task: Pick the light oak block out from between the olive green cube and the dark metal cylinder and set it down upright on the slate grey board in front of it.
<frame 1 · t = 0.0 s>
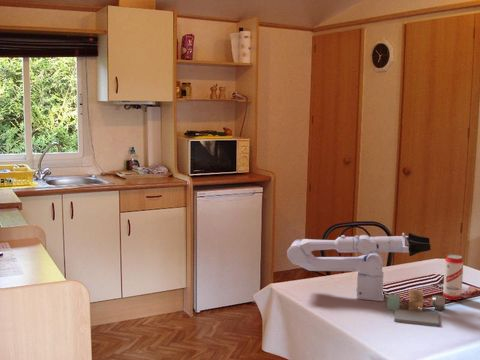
hand: (430, 243, 194), 22 cm above the table, tool horizontal, fingers open, 7 cm apart
olive green cube: (393, 307, 193), on the table
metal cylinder: (437, 308, 192), on the table
slate board: (416, 318, 183), on the table
beer can: (451, 298, 201), on the table
oak block: (415, 308, 192), on the table
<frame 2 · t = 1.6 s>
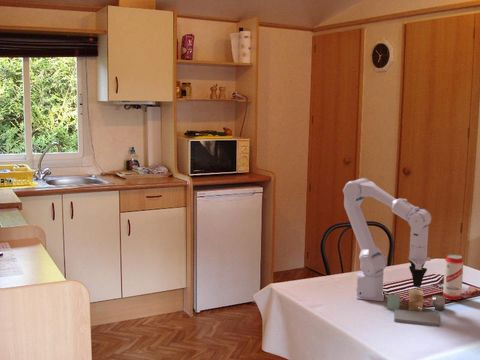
hand: (416, 282, 190), 9 cm above the table, tool pointing down, fingers open, 7 cm apart
nothing on the table moved.
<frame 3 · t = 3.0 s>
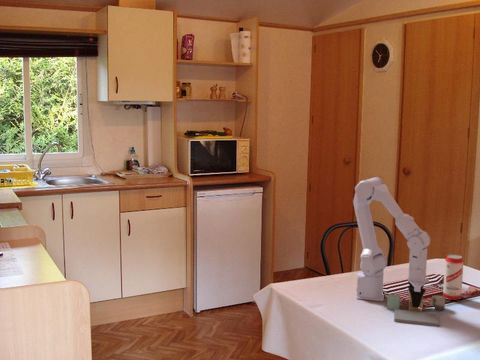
hand: (415, 304, 192), 2 cm above the table, tool pointing down, fingers closed on oak block, 4 cm apart
oak block: (415, 308, 192), on the table, touching gripper
everything else where it was.
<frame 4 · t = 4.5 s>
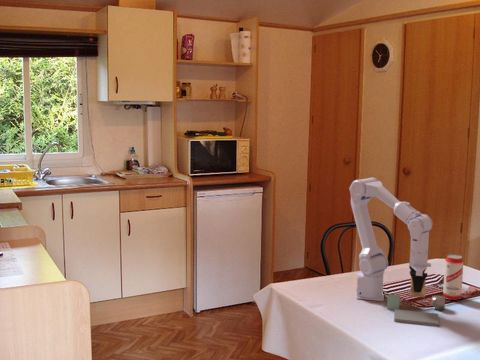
hand: (417, 289, 187), 8 cm above the table, tool pointing down, fingers closed on oak block, 4 cm apart
oak block: (417, 294, 187), point 7 cm above the table, touching gripper
everything else where it was.
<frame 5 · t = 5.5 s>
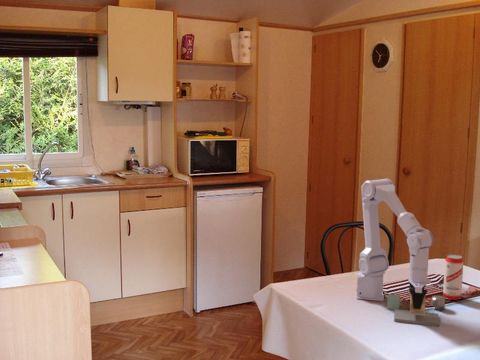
hand: (416, 305, 183), 5 cm above the table, tool pointing down, fingers closed on oak block, 4 cm apart
oak block: (417, 310, 183), point 3 cm above the table, touching gripper
everything else where it was.
when the fingers open (4 cm above the table, at t = 6.2 s): oak block stays where it is, resting on slate board.
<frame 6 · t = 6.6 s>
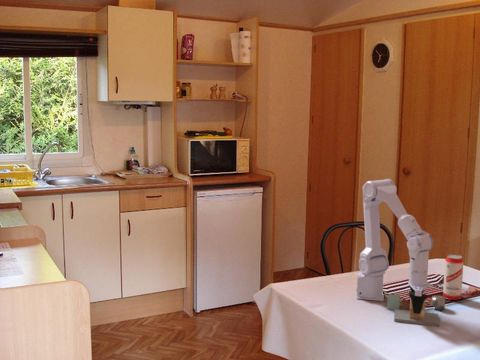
hand: (416, 308, 183), 4 cm above the table, tool pointing down, fingers open, 7 cm apart
oak block: (416, 316, 183), point 1 cm above the table, touching slate board
everything else where it was.
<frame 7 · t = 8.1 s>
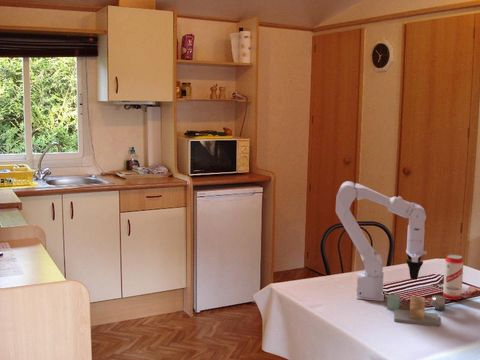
hand: (413, 275, 198), 9 cm above the table, tool pointing down, fingers open, 7 cm apart
nothing on the table moved.
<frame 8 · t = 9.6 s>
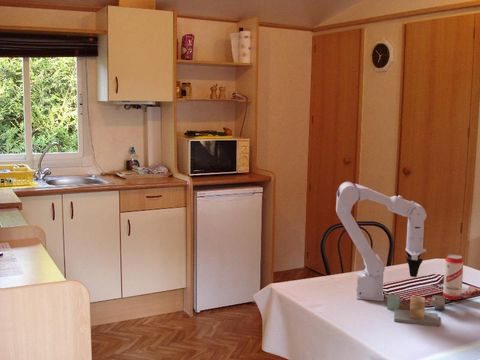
hand: (413, 273, 200), 9 cm above the table, tool pointing down, fingers open, 7 cm apart
nothing on the table moved.
at the end: oak block inside the target area on the slate board (0.2 cm from its centre), point 1.0 cm above the slate board's base; oak block tilted 0°; the gripper is holding nothing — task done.
